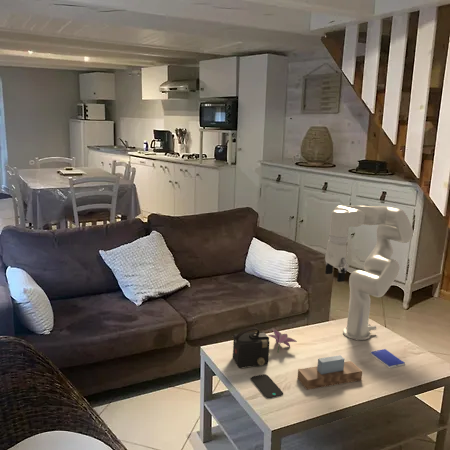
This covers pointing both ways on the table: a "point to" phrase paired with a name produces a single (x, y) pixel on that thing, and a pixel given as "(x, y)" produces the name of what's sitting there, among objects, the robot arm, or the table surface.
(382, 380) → the table surface
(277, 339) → the lily
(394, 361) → the hard drive
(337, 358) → the light blue arch block
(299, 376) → the brown block with holes
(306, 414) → the table surface
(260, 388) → the smartphone
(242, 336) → the camera
